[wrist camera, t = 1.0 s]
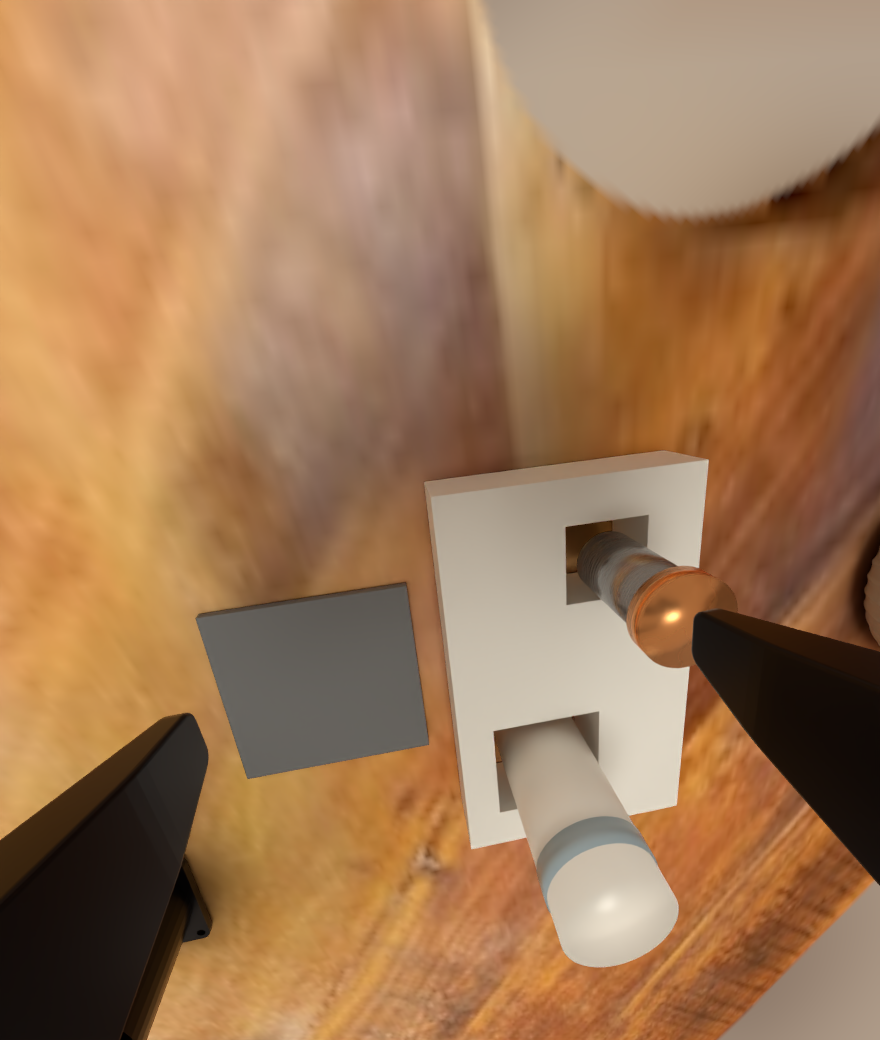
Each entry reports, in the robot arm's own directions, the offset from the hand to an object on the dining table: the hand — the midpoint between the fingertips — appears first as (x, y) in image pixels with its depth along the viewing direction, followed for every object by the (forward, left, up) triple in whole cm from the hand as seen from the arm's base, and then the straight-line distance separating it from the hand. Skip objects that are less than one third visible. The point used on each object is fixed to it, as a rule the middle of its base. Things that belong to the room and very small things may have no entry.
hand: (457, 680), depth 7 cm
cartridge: (-14, -5, -13) cm, 20 cm away
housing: (-9, -7, -13) cm, 17 cm away
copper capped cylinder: (-3, -8, -10) cm, 13 cm away
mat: (-9, +6, -13) cm, 17 cm away
